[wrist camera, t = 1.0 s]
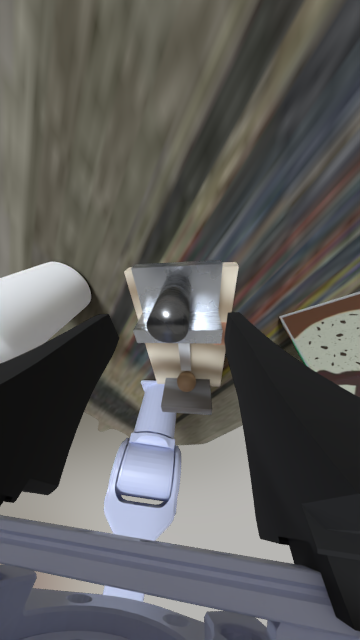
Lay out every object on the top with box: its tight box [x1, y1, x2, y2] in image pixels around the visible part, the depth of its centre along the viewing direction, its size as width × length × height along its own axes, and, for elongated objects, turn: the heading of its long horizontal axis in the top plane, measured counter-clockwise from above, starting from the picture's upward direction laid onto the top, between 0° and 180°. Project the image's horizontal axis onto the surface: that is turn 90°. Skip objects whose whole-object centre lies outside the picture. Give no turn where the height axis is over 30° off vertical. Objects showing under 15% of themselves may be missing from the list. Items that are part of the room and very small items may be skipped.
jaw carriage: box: [131, 260, 223, 344], centre depth 13 cm, size 6×8×7 cm
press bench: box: [124, 262, 239, 415], centre depth 20 cm, size 22×12×6 cm, turn 4°
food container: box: [279, 292, 360, 397], centre depth 15 cm, size 12×6×10 cm, turn 118°
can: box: [0, 262, 91, 363], centre depth 15 cm, size 6×6×12 cm
